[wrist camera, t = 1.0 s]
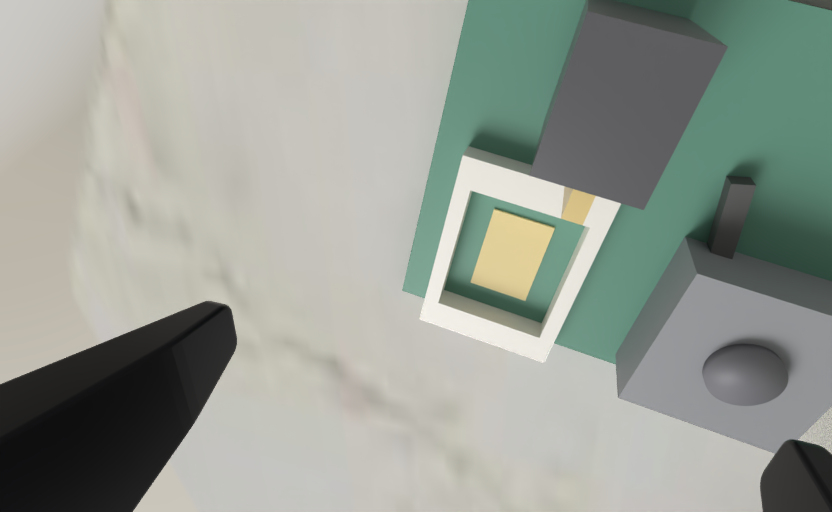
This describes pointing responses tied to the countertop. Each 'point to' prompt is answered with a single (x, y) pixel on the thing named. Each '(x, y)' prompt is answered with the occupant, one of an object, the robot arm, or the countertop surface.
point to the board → (648, 221)
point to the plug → (622, 104)
